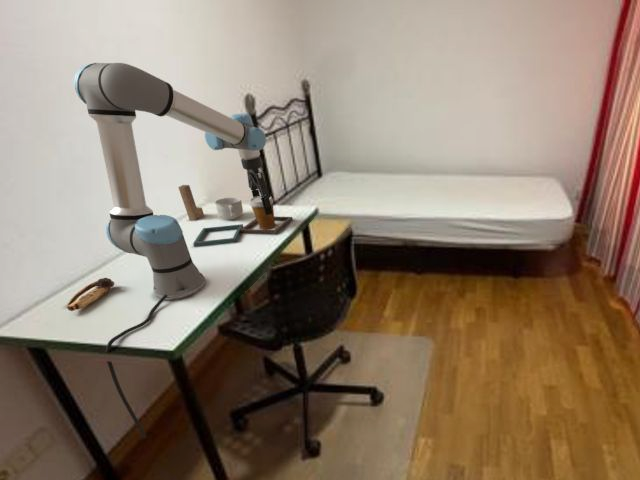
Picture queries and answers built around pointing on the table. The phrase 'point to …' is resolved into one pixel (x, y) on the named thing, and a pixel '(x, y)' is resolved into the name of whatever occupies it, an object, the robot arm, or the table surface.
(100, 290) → the bone fish hook
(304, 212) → the table surface
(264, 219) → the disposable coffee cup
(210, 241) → the left stand
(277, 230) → the right stand
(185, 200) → the wooden block
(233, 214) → the teacup
